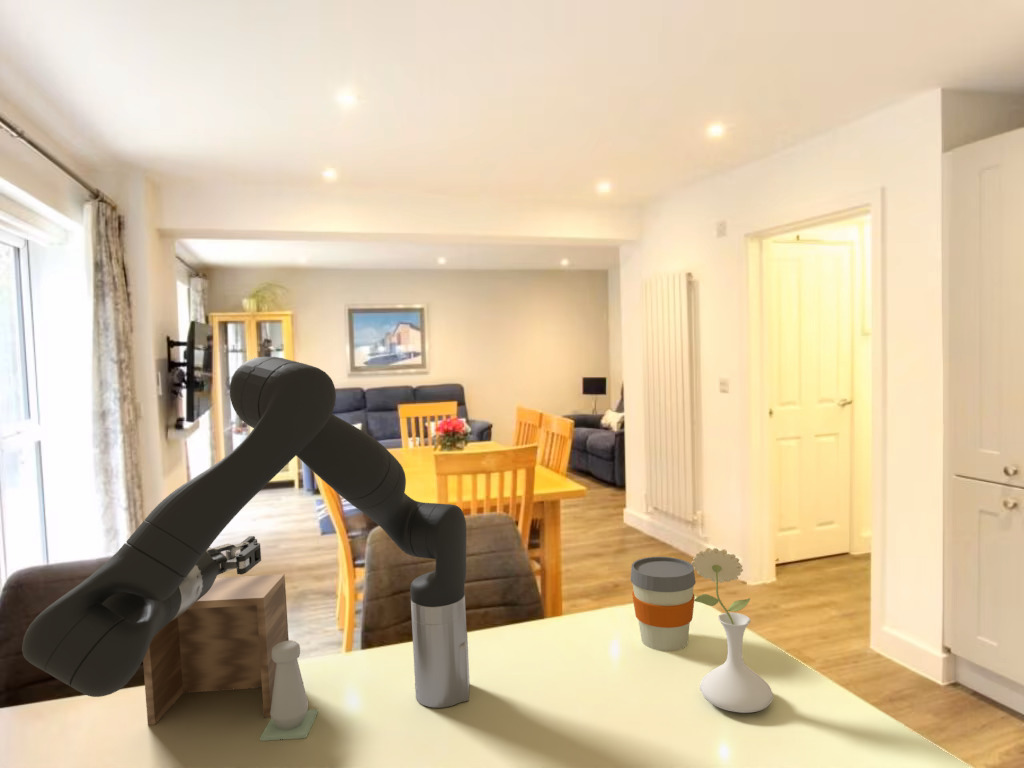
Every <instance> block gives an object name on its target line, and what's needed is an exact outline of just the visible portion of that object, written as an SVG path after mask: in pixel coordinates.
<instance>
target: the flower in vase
mask: <svg viewBox="0 0 1024 768" xmlns="http://www.w3.org/2000/svg"><path fill="white" fill-rule="evenodd" d="M690 564H692V565H693V567H694V571H696V572H697V575H699V576H701V577H702V578H703V579H706V580H709V579H710V581H711V582H713V583H714V582H715V595H716V597H714V596H713V595H710V594H707V593H705V594H704V593H702V594H700V595H698V596H697V597H695V599H694V602H697V603H700V604H704V605H706V606H710V607H713V606H715V605H717V604H718V603H719V604H720V606H721V607H722V608H723V610H724V611H725V612H723V613H720V614H719V615H718V621H719V622H720V624H721V625H722V627H723V629H724V632H725V635H726V642H727V656H726V659H725V662H723V663H722V664H721V665H719V666H717V667H715V668H714V669H712V670H710V671H709V672H707V674H705V675H704V676H703V677H702V679H701V681H700V684H699V691H700V692H701V694H702V696H703V697H704V699H705V700H706V701H707V702H708V703H710V704H712V705H713V706H715V707H717V708H720V709H722V710H725V711H730V712H733V713H742V714H743V713H744V714H747V713H748V714H749V713H750V714H751V713H756V712H760V711H762V710H765V709H766V708H768V707H769V705H770V704H771V703H772V702H773V700H774V693H773V690H772V688H771V686H770V685H769V683H768V682H766V680H765V679H764V678H762V677H761V676H760V675H759V674H758V673H756V672H755V671H754V670H752V668H750V667H749V666H748V665H747V664H745V662H744V661H745V660H744V658H743V641H744V634H745V631H746V629H747V627H748V625H750V623H751V622H752V621H751V620H752V619H751V618H750V617H749V616H747V615H745V614H743V613H740V612H739V611H741V610H743V609H744V608H746V606H748V604H749V603H750V600H751V597H749V598H746V599H738V600H735V601H733V602H732V603H731V604H730V606H729V607H728V608H726V606H725V605H724V604H723V602H722V600H721V599H720V595H719V583H724V582H727V583H728V582H731V581H733V580H734V581H737V580H738V579H739V576H741V575H742V572H744V569H743V565H742V564H741V563H740V559H739V558H738V557H736V555H735V554H733V553H728V552H727V550H726V549H721V550H719V548H717V547H714V548H712V549H711V548H710V547H706V548H705V550H699V551H698V552H697V553H695V556H694V557H693V559H692V561H691V563H690ZM738 612H739V613H738Z"/></svg>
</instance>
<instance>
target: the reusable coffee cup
mask: <svg viewBox="0 0 1024 768" xmlns="http://www.w3.org/2000/svg"><path fill="white" fill-rule="evenodd" d="M630 568H631V569H630V581H631V583H632V587H633V590H632V593H631V596H632V601H633V607H634V614H635V617H636V619H637V620H638V626H639V632H640V638H641V642H642V644H643V645H645V646H646V647H647V648H650V649H652V650H655V651H661V652H672V651H673V652H676V651H678V650H682V649H684V648H685V647H687V646H688V643H689V642H688V641H689V632H690V623H691V622H692V621H693V617H694V607H695V601H694V600H695V599H696V597H695V594H694V586H695V585H696V581H697V580H696V577H695V576H696V575H695V574H696V573H695V569H694V566H693V565H692V564H691V563H690V562H689V561H687V560H684V559H680V558H677V557H671V556H670V557H669V556H650V557H649V556H648V557H644V558H640V559H637V560H635V561H633V562H632V564H631V567H630Z"/></svg>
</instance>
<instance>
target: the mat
mask: <svg viewBox="0 0 1024 768" xmlns="http://www.w3.org/2000/svg"><path fill="white" fill-rule="evenodd" d="M318 711H319V710H318V708H317V709H314V708H313V709H308V710H307V713H306V715H305V717H304V720H303V722H302V724H301V726H298V727H296V728H294V729H291V730H280V729H278V727H277V725H276V723H275V722H274V720H273V719H272V718H271V717H270V720H269V721H268V723H267V725H266V726H265V728H264V730H263V732H262V734H261V735H260V740H259V741H260V742H265V741H277V740H278V741H280V739H281V740H282V739H283V740H295V739H296V740H298V739H306V738H307V737H308V735H309V733H310V730H311V728H312V726H313V724H314V722H315V720H316V718H315V717H317V716H316V715H318V714H319V712H318Z"/></svg>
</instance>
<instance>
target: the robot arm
mask: <svg viewBox="0 0 1024 768" xmlns="http://www.w3.org/2000/svg"><path fill="white" fill-rule="evenodd" d="M230 380H231V381H230V383H229V397H230V398H229V399H230V402H231V405H232V407H233V410H234V412H235V414H236V415H237V416H238V417H239V419H240V420H241V421H242V422H243V423H244V424H246V425H247V426H249V427H250V428H253V429H252V430H251V431H250V433H249V434H248V435H247V436H246V437H245V438H244V440H243V441H242V442H241V443H240V444H239V445H237V446H236V447H235V448H234V449H233V450H232V451H231V452H230V453H228V454H227V455H226V456H224V457H223V458H222V459H221V460H219V461H218V462H216V463H215V464H213V465H212V466H211V467H209V468H207V469H206V470H204V471H203V472H201V473H200V474H198V475H196V476H195V477H193V478H192V479H190V480H188V481H186V482H184V483H183V484H182V485H180V486H179V487H177V488H176V489H174V491H172V492H171V493H170V494H168V495H167V496H166V497H165V498H164V499H163V500H161V501H160V503H158V504H157V505H156V506H155V508H153V509H152V511H151V512H150V513H148V514H147V516H146V517H145V519H144V520H143V521H142V522H141V524H139V526H138V527H137V528H136V529H135V530H134V531H133V533H132V534H131V535H130V536H129V537H128V538H127V540H126V543H124V544H123V545H122V546H121V547H120V548H119V549H118V551H116V552H115V554H113V556H112V557H110V559H108V560H107V561H106V562H105V563H104V564H103V565H101V567H99V568H98V569H97V570H95V572H93V573H92V574H91V575H89V577H87V578H85V580H83V581H81V582H80V583H79V584H77V585H76V586H75V587H74V588H72V589H70V590H69V591H68V592H67V593H65V594H64V595H62V596H61V597H59V598H58V599H57V600H56V601H54V602H52V603H51V604H50V605H48V607H46V608H45V609H44V610H42V612H39V614H38V615H37V616H36V617H35V618H34V619H33V621H31V623H30V624H29V626H28V627H27V629H26V631H25V634H24V636H23V640H22V645H21V652H22V655H23V658H24V659H25V660H26V661H27V662H28V663H30V664H31V665H32V666H34V667H36V668H37V669H39V670H41V671H43V672H44V673H47V674H48V675H51V677H53V678H55V679H56V680H58V681H59V682H62V683H63V684H65V685H67V686H69V687H71V688H72V689H73V690H75V691H77V692H79V693H81V694H83V695H85V696H88V697H91V698H101V697H106V696H109V695H111V694H114V693H116V692H118V691H120V690H121V689H122V688H123V687H125V686H126V685H127V684H128V683H129V682H130V681H131V679H132V678H133V677H134V676H135V674H136V673H137V672H138V670H139V669H140V666H141V664H142V663H143V659H144V657H145V655H146V653H147V650H148V648H149V645H150V643H151V641H152V639H153V637H154V636H155V635H156V634H157V633H158V632H159V631H160V630H161V629H162V628H163V627H165V626H166V625H167V624H168V623H169V622H170V621H172V620H174V619H175V618H177V617H179V616H180V615H181V614H183V613H184V612H185V611H186V610H187V609H189V608H190V607H191V606H192V605H193V604H194V603H195V602H197V601H198V600H199V599H200V598H201V597H202V596H203V595H205V594H206V593H207V592H208V591H209V590H210V588H211V587H212V585H213V583H214V581H215V579H216V578H218V576H219V575H221V574H223V573H225V572H229V571H233V570H235V569H236V574H237V575H244V574H247V573H248V572H249V571H250V570H252V569H253V568H254V567H255V566H257V564H259V563H260V562H261V561H262V551H261V550H262V549H261V543H260V542H258V539H257V538H256V537H255V535H252V536H251V535H250V536H248V537H246V538H245V539H244V540H243V541H241V542H240V543H237V544H231V543H225V544H220V545H218V546H214V547H211V546H212V544H213V543H214V541H215V540H216V539H217V538H218V537H219V536H220V534H221V533H222V531H224V529H225V528H226V527H228V525H229V524H230V522H231V521H232V520H233V519H234V518H235V517H236V516H237V515H238V513H240V511H242V510H243V508H245V507H246V506H247V504H249V502H250V501H251V500H253V498H255V496H256V495H257V494H258V493H260V491H262V489H263V488H264V487H266V486H267V484H268V483H269V482H271V480H272V479H274V478H275V476H277V475H278V474H279V473H280V472H281V471H282V469H284V468H285V467H286V466H287V465H288V464H289V463H290V462H291V461H292V460H293V459H294V458H295V457H297V458H299V460H301V461H302V463H304V465H306V467H308V468H309V469H310V470H311V471H312V472H313V473H314V474H315V475H316V476H317V477H319V479H320V480H322V481H324V483H326V485H328V487H331V489H333V490H334V492H336V493H337V494H338V495H339V496H341V498H343V499H344V500H346V501H347V502H348V503H349V504H350V505H352V506H353V507H354V508H355V509H357V510H359V511H360V512H361V513H363V514H364V515H365V516H366V517H368V519H370V520H371V521H372V522H374V524H376V525H377V526H379V527H380V528H381V529H382V530H383V531H384V532H385V533H386V534H387V536H388V537H389V538H390V539H391V540H392V541H393V543H394V544H395V546H397V547H398V548H399V549H400V550H401V551H402V552H403V553H405V554H406V555H408V556H411V557H416V558H422V559H433V560H435V569H434V570H433V571H429V572H427V573H423V574H421V575H419V576H417V577H416V578H414V579H413V580H412V582H411V583H410V586H409V587H410V591H409V592H410V607H411V609H410V611H411V627H412V628H411V631H412V649H413V650H412V651H413V652H412V653H413V671H414V689H415V698H416V701H417V703H419V704H420V705H422V706H426V707H429V708H435V709H436V708H438V709H440V708H449V707H451V706H455V705H457V704H460V703H462V702H468V701H469V699H470V665H469V664H470V663H469V641H468V638H469V637H468V631H467V617H466V595H465V594H466V593H465V592H466V591H465V590H466V589H465V588H466V587H465V584H466V578H467V523H466V518H465V514H464V511H463V510H462V508H461V507H460V506H458V505H456V504H452V503H451V504H450V503H449V504H448V503H433V502H423V501H417V500H414V499H413V498H411V497H410V496H409V495H408V494H407V493H405V491H406V484H407V479H406V474H405V472H406V471H405V470H404V468H403V466H402V464H401V463H400V462H399V461H398V459H397V458H396V457H395V456H394V455H393V454H392V453H391V452H390V451H389V450H388V449H387V448H386V447H385V446H384V445H383V444H382V443H381V442H380V441H378V440H377V439H375V438H374V437H373V436H372V435H369V434H368V433H367V432H365V431H363V430H362V429H360V428H358V427H356V426H355V425H353V424H351V423H349V422H347V421H346V420H345V419H342V418H341V417H338V416H337V415H335V414H333V412H334V409H335V406H336V400H337V395H336V394H337V393H336V392H337V391H336V387H335V384H334V381H333V380H332V378H331V377H330V376H329V374H327V372H326V371H324V370H322V369H320V368H319V367H317V366H314V365H309V364H307V363H303V362H299V361H296V360H291V359H288V358H287V359H286V358H283V357H279V356H259V357H254V358H252V359H251V358H250V359H249V360H246V361H245V362H243V363H242V364H240V365H239V367H238V368H237V369H236V370H235V371H234V373H233V375H232V377H231V379H230ZM237 551H238V552H237ZM239 551H240V552H239ZM222 552H225V554H223V553H222Z"/></svg>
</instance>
